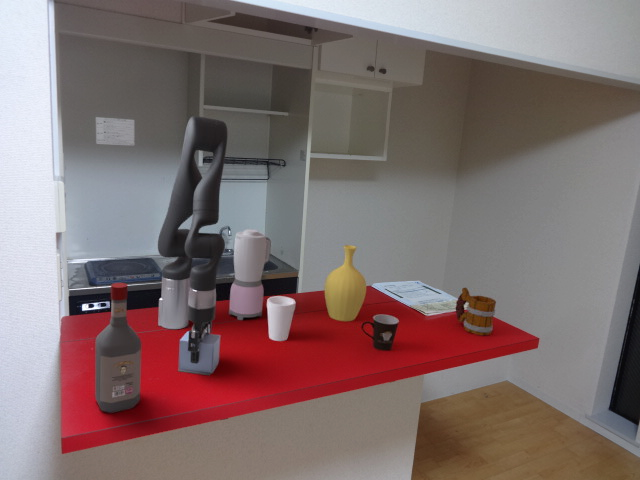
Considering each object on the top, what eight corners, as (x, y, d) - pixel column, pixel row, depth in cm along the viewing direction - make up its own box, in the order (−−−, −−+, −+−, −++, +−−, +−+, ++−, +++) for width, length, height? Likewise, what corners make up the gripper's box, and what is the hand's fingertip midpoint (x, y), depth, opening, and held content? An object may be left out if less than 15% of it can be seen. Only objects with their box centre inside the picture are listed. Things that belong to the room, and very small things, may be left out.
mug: (483, 338, 187) (489, 300, 183) (446, 323, 198) (452, 287, 195) (497, 333, 194) (504, 296, 191) (461, 318, 206) (467, 284, 202)
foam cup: (287, 344, 164) (291, 307, 161) (260, 340, 166) (263, 303, 163) (294, 334, 173) (298, 298, 170) (269, 329, 175) (272, 294, 172)
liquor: (142, 406, 121) (145, 289, 115) (102, 416, 116) (102, 293, 110) (131, 389, 128) (134, 277, 122) (93, 397, 123) (93, 281, 117)
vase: (369, 316, 197) (378, 248, 191) (350, 327, 184) (358, 254, 178) (335, 305, 206) (342, 239, 200) (313, 315, 192) (320, 245, 186)
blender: (241, 323, 178) (247, 235, 171) (221, 312, 186) (227, 228, 179) (275, 314, 189) (282, 232, 182) (255, 304, 197) (261, 225, 191)
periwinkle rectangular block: (178, 369, 141) (179, 340, 139) (186, 358, 148) (187, 331, 146) (212, 373, 140) (213, 344, 139) (218, 363, 147) (220, 335, 145)
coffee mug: (397, 344, 173) (400, 317, 171) (392, 354, 165) (396, 326, 163) (364, 337, 176) (368, 310, 174) (358, 346, 168) (361, 318, 166)
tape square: (178, 371, 140) (178, 370, 140) (188, 357, 149) (188, 356, 149) (209, 375, 139) (209, 374, 139) (218, 361, 148) (218, 360, 148)
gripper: (196, 293, 147) (194, 344, 150) (180, 309, 133) (177, 365, 137) (221, 296, 147) (218, 347, 150) (207, 313, 133) (204, 369, 136)
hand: (199, 356), depth 143 cm, fingers open, 8 cm apart
